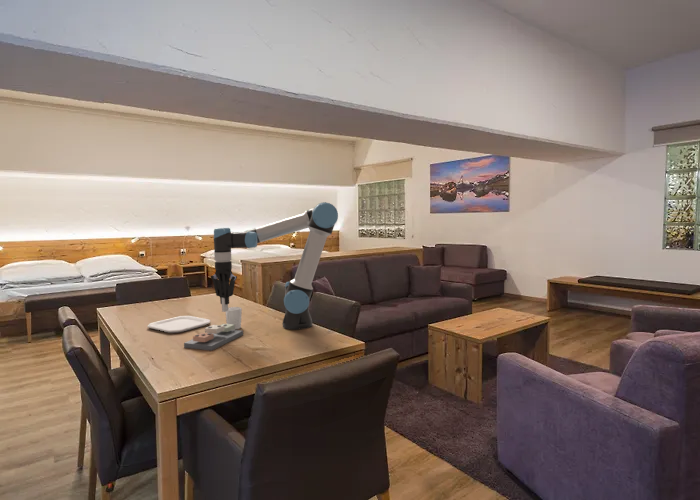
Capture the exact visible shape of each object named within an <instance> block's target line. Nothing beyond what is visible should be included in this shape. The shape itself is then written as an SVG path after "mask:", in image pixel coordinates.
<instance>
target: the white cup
mask: <svg viewBox="0 0 700 500" xmlns="http://www.w3.org/2000/svg"><path fill="white" fill-rule="evenodd" d="M242 311H243V309H242V307H240V306H231V307H229V306H228V311H226V312H225V318H226V319H225V322H226V323H225V324H233V325H234V326H235V329H233V330H241V328H242Z"/></svg>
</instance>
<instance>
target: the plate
mask: <svg viewBox="0 0 700 500" xmlns="http://www.w3.org/2000/svg"><path fill="white" fill-rule="evenodd" d="M210 322H211V319H208V318H205V317H197V316H194V315H178V316H175V317H171V318H166V319H161V320H158V321H154V322H149V324H148V325H147V328H149V329H152V330H156V331H159V330H160V331H159V332H163V331H164V332H163V333H169V334H178V333H179V334H180V333H184V332H187V331H191V330H194V329H198V328H202V327H204V326H206V325H209V324H210Z"/></svg>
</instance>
